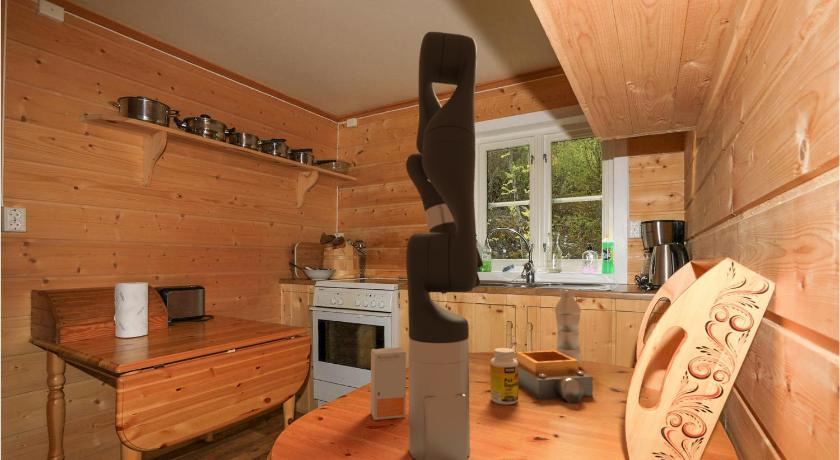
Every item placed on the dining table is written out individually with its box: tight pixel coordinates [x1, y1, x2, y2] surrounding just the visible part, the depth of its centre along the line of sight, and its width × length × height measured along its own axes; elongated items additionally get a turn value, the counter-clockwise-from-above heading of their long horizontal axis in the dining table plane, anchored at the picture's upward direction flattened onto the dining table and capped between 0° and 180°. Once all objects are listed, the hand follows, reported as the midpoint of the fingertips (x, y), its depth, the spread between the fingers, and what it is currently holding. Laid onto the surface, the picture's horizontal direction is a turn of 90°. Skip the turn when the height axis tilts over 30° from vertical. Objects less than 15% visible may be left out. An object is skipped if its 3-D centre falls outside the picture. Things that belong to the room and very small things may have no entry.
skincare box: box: [370, 347, 407, 421], centre depth 81 cm, size 6×4×12 cm
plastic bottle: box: [554, 288, 583, 366], centre depth 114 cm, size 6×7×20 cm
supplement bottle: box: [489, 347, 519, 406], centre depth 88 cm, size 6×6×10 cm
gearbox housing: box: [514, 349, 594, 404], centre depth 96 cm, size 20×12×6 cm, turn 11°
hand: (460, 290), depth 102 cm, fingers open, 8 cm apart
